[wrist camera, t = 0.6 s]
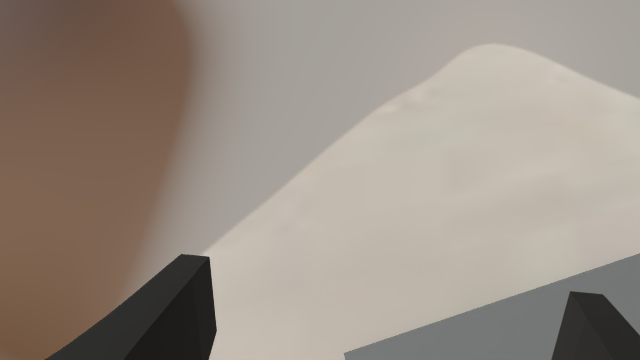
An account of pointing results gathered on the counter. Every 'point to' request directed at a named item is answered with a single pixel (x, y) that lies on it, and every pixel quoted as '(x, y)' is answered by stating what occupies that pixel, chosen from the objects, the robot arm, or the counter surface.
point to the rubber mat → (513, 321)
